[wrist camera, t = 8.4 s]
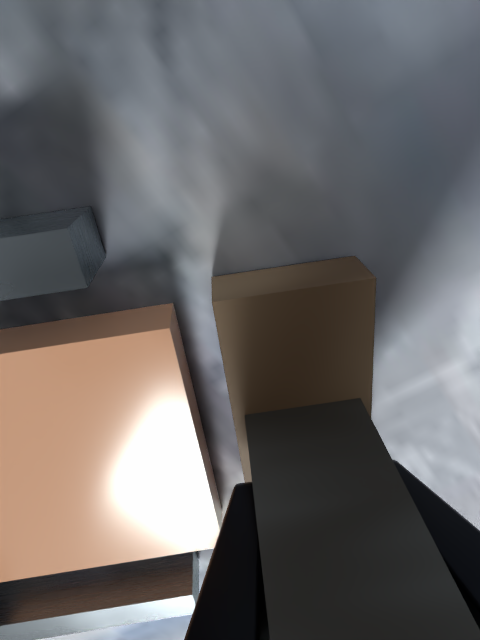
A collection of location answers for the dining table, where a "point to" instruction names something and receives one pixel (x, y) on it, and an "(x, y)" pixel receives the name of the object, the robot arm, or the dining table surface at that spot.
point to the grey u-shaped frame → (99, 582)
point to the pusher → (326, 462)
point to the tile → (100, 445)
